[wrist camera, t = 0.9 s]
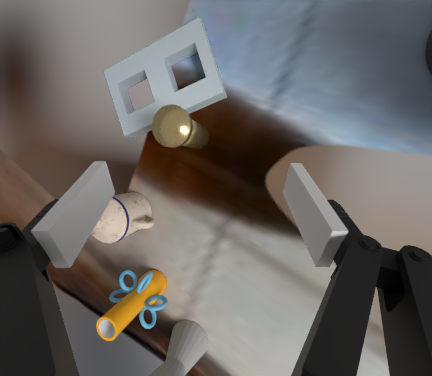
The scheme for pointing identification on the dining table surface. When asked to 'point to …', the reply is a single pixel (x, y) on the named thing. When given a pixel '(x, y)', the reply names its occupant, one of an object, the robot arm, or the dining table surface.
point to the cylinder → (133, 303)
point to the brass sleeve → (178, 128)
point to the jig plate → (164, 78)
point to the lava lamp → (183, 349)
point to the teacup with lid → (123, 217)
